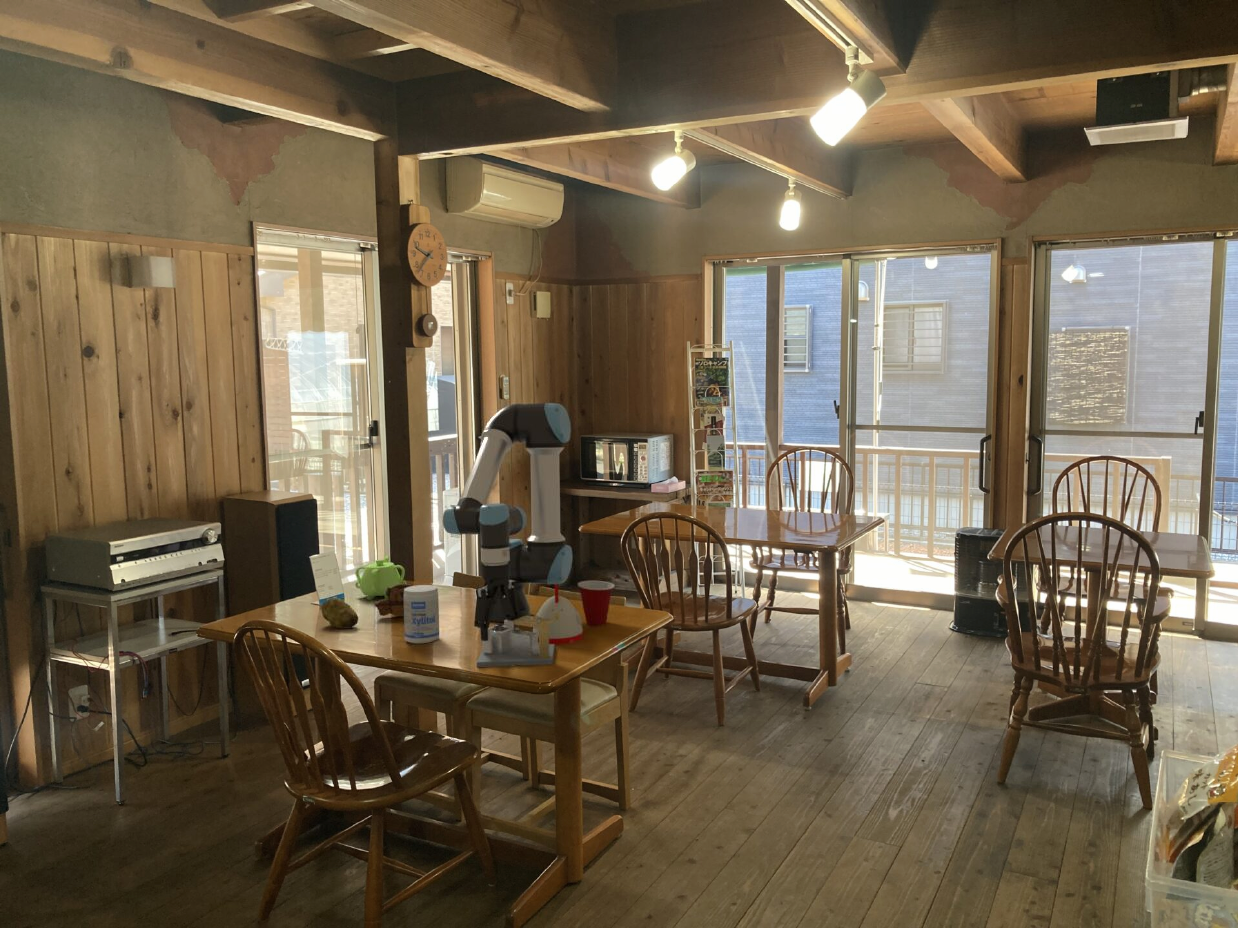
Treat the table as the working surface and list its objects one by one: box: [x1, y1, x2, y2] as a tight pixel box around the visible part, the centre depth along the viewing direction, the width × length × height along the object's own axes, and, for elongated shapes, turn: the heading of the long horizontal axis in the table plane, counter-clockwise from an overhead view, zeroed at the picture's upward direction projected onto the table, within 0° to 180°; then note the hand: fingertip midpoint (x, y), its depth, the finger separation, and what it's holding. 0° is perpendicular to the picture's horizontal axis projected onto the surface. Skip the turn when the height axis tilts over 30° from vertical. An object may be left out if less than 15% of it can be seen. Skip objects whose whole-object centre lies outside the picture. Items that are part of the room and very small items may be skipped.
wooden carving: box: [374, 583, 417, 617], centre depth 296 cm, size 16×5×10 cm, turn 116°
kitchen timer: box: [532, 584, 584, 645], centre depth 267 cm, size 14×14×15 cm
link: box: [480, 624, 539, 657], centre depth 250 cm, size 15×7×6 cm, turn 56°
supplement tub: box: [403, 584, 440, 644], centre depth 268 cm, size 10×10×15 cm
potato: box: [320, 597, 359, 629], centre depth 285 cm, size 8×13×8 cm, turn 35°
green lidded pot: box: [354, 554, 408, 601], centre depth 325 cm, size 16×14×13 cm
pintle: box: [493, 623, 503, 632], centre depth 253 cm, size 2×2×6 cm
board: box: [476, 644, 556, 668], centre depth 249 cm, size 14×19×1 cm
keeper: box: [514, 615, 553, 658], centre depth 246 cm, size 5×9×9 cm, turn 56°
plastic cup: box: [577, 580, 615, 627], centre depth 281 cm, size 11×11×12 cm
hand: (498, 648), depth 252 cm, fingers open, 8 cm apart
